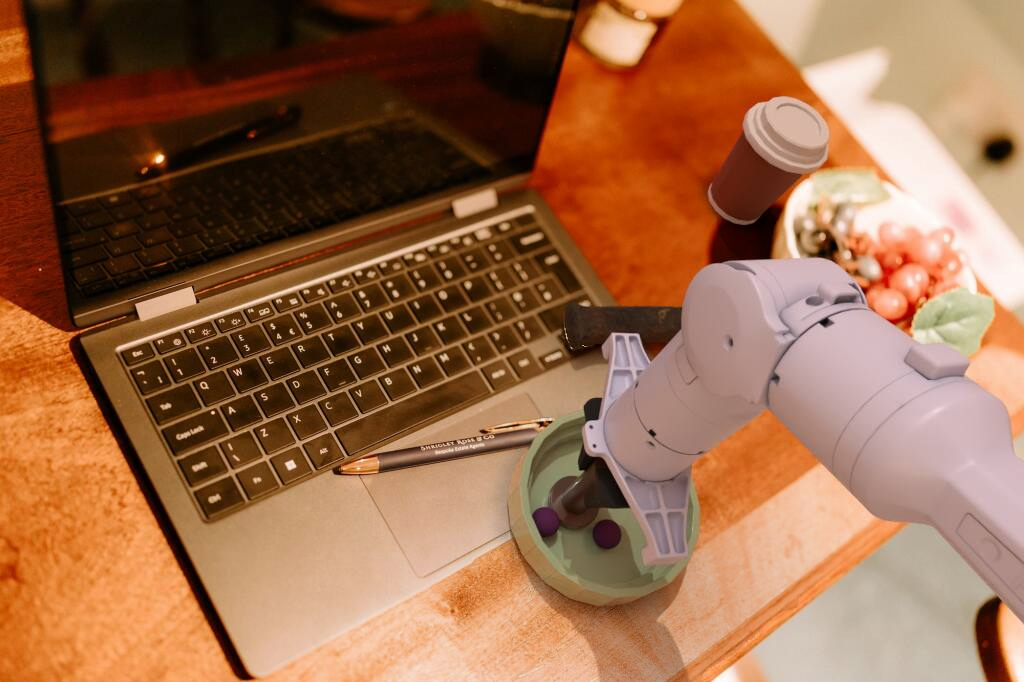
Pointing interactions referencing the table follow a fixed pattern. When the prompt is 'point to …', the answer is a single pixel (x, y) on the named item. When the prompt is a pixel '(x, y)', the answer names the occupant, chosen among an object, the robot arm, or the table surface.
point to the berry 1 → (546, 521)
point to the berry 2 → (607, 534)
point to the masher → (575, 497)
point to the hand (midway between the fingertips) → (594, 484)
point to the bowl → (573, 552)
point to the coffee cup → (769, 158)
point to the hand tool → (619, 323)
